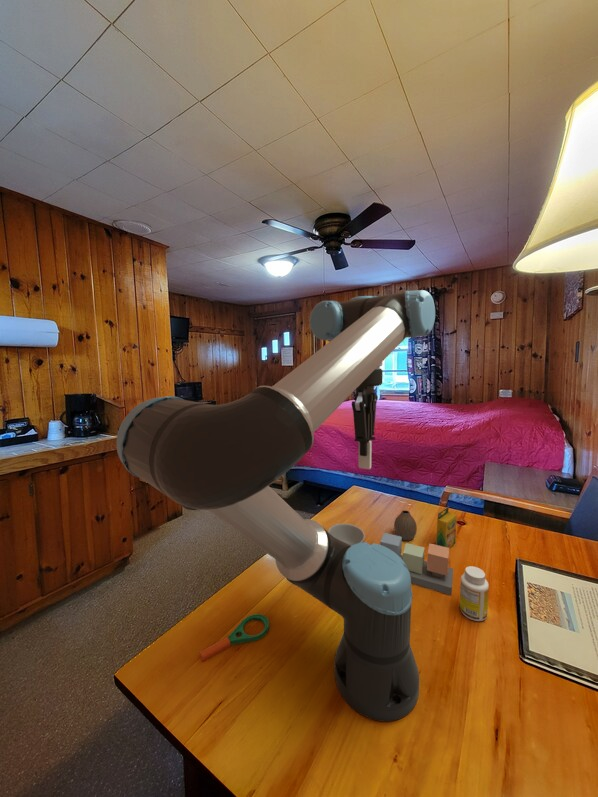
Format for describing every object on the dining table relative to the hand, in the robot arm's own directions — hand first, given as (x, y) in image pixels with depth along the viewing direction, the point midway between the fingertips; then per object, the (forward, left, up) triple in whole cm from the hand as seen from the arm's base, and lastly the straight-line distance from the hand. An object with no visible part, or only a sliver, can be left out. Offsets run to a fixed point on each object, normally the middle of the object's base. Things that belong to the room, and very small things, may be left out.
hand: (364, 467), depth 76 cm
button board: (+12, -10, -32) cm, 36 cm away
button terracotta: (+12, -16, -29) cm, 35 cm away
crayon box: (+29, -17, -33) cm, 47 cm away
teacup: (+10, +10, -33) cm, 36 cm away
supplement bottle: (+4, -24, -33) cm, 41 cm away
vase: (+29, -5, -33) cm, 44 cm away
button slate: (+12, -4, -29) cm, 31 cm away
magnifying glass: (-25, +20, -33) cm, 46 cm away
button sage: (+12, -10, -30) cm, 34 cm away
